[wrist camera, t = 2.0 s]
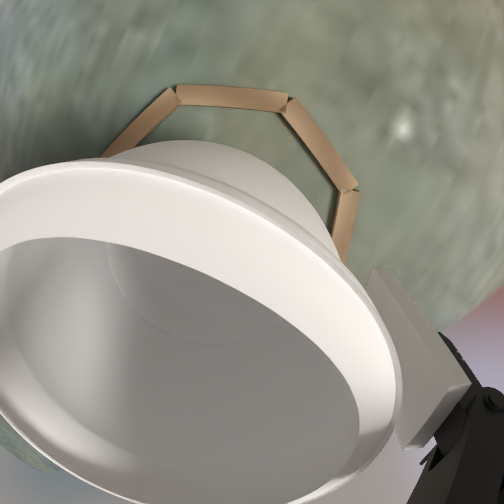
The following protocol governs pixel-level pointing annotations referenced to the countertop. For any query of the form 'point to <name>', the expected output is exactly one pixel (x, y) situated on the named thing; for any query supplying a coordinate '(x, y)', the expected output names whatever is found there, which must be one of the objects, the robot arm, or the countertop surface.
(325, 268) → the jar
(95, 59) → the countertop surface
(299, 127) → the cork ring
